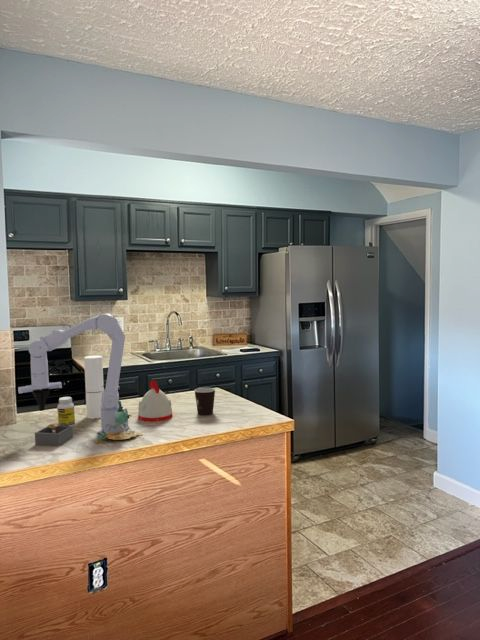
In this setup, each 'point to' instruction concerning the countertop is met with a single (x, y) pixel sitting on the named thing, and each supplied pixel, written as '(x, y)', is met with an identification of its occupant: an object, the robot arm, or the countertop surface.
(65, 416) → the pill bottle
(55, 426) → the plunger
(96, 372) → the cylindrical container
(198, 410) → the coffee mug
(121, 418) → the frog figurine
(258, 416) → the countertop surface
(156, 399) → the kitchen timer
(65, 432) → the gray open box
